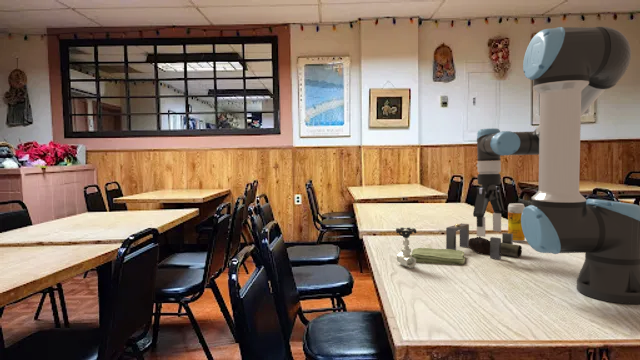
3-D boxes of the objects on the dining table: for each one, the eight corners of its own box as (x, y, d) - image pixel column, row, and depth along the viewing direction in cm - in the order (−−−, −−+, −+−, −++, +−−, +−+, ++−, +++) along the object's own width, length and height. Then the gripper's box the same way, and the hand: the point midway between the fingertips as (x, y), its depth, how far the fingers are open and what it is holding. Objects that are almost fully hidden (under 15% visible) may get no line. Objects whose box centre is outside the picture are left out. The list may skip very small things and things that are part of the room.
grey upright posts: (499, 259, 135) (499, 232, 134) (446, 251, 148) (446, 226, 148) (512, 253, 143) (512, 227, 143) (461, 245, 157) (461, 222, 156)
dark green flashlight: (522, 256, 140) (522, 240, 139) (515, 260, 135) (515, 244, 134) (471, 248, 152) (471, 234, 151) (464, 252, 147) (464, 237, 146)
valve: (401, 270, 125) (401, 231, 124) (392, 264, 131) (391, 228, 130) (420, 268, 127) (420, 230, 126) (410, 263, 133) (410, 226, 132)
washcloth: (466, 267, 128) (466, 257, 128) (409, 263, 134) (409, 254, 133) (464, 257, 141) (464, 248, 141) (412, 254, 146) (412, 245, 146)
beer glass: (504, 240, 165) (504, 203, 164) (515, 238, 167) (515, 202, 166) (517, 243, 159) (517, 205, 158) (528, 241, 162) (528, 204, 161)
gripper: (492, 172, 153) (493, 228, 154) (462, 174, 135) (462, 237, 136) (513, 172, 148) (513, 230, 148) (484, 174, 130) (484, 239, 131)
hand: (489, 233), depth 142 cm, fingers open, 13 cm apart
